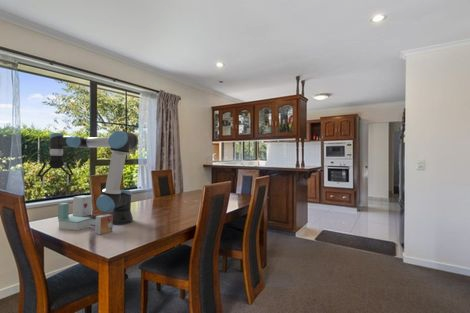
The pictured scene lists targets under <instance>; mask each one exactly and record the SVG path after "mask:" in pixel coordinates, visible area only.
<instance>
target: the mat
mask: <svg viewBox="0 0 470 313" xmlns="http://www.w3.org/2000/svg"><path fill="white" fill-rule="evenodd" d="M90 226H96V218H91V219H90Z"/></svg>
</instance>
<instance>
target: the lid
mask: <svg viewBox="0 0 470 313" xmlns="http://www.w3.org/2000/svg"><path fill="white" fill-rule="evenodd" d="M57 207H58V208H57V209H58V210H57V211H58V213H57V221H58V222H59V221H62V222H71V223H79V222H83V221H86V220H89V219H92V218H91V217H87V216H84V217H79V216H73V215H71V216H69V213H70V212H69V211H70V204H69V202H62V203H58V206H57Z"/></svg>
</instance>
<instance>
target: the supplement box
mask: <svg viewBox="0 0 470 313" xmlns="http://www.w3.org/2000/svg"><path fill="white" fill-rule="evenodd" d="M92 197H93V196H92V195H77V196H76V195H75V196H73V200H72V201H73V202H72V216H77V217H87V216H90V215H92V200H93V199H92Z"/></svg>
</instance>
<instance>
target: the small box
mask: <svg viewBox="0 0 470 313" xmlns="http://www.w3.org/2000/svg"><path fill="white" fill-rule="evenodd" d="M95 219H96V225H95V227H94V228H95V231H94V233H95V234H97V235H102V234H108V233H112V232H113V225H114V224H113V215H112V213H111V214H109V213H106V214H101V215H96V216H95Z"/></svg>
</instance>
